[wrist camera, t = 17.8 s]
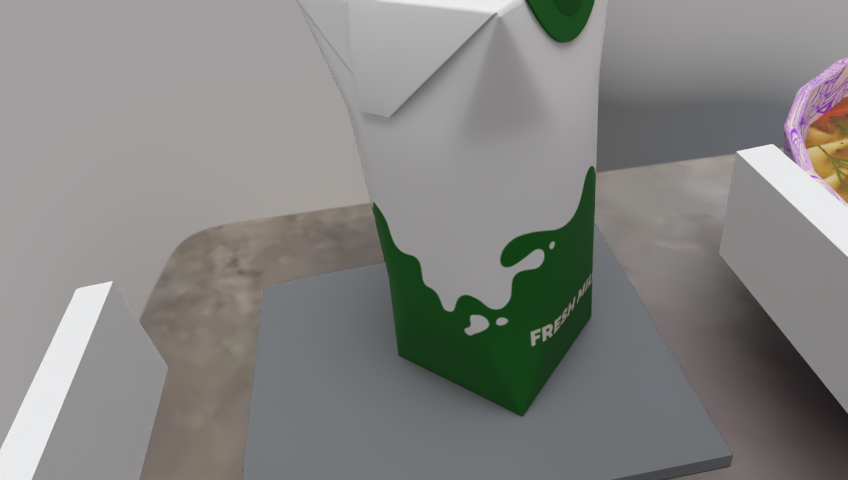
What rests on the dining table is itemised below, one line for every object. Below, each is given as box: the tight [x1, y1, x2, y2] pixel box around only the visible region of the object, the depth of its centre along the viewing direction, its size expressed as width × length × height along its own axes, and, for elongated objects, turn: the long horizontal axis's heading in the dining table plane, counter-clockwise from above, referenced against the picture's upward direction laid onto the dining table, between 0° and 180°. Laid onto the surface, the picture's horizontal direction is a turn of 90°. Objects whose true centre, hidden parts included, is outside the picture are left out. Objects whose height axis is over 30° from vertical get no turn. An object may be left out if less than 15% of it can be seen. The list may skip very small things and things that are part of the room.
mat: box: [242, 223, 733, 480], centre depth 31 cm, size 20×16×1 cm
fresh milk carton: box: [297, 0, 608, 416], centre depth 25 cm, size 9×9×20 cm
